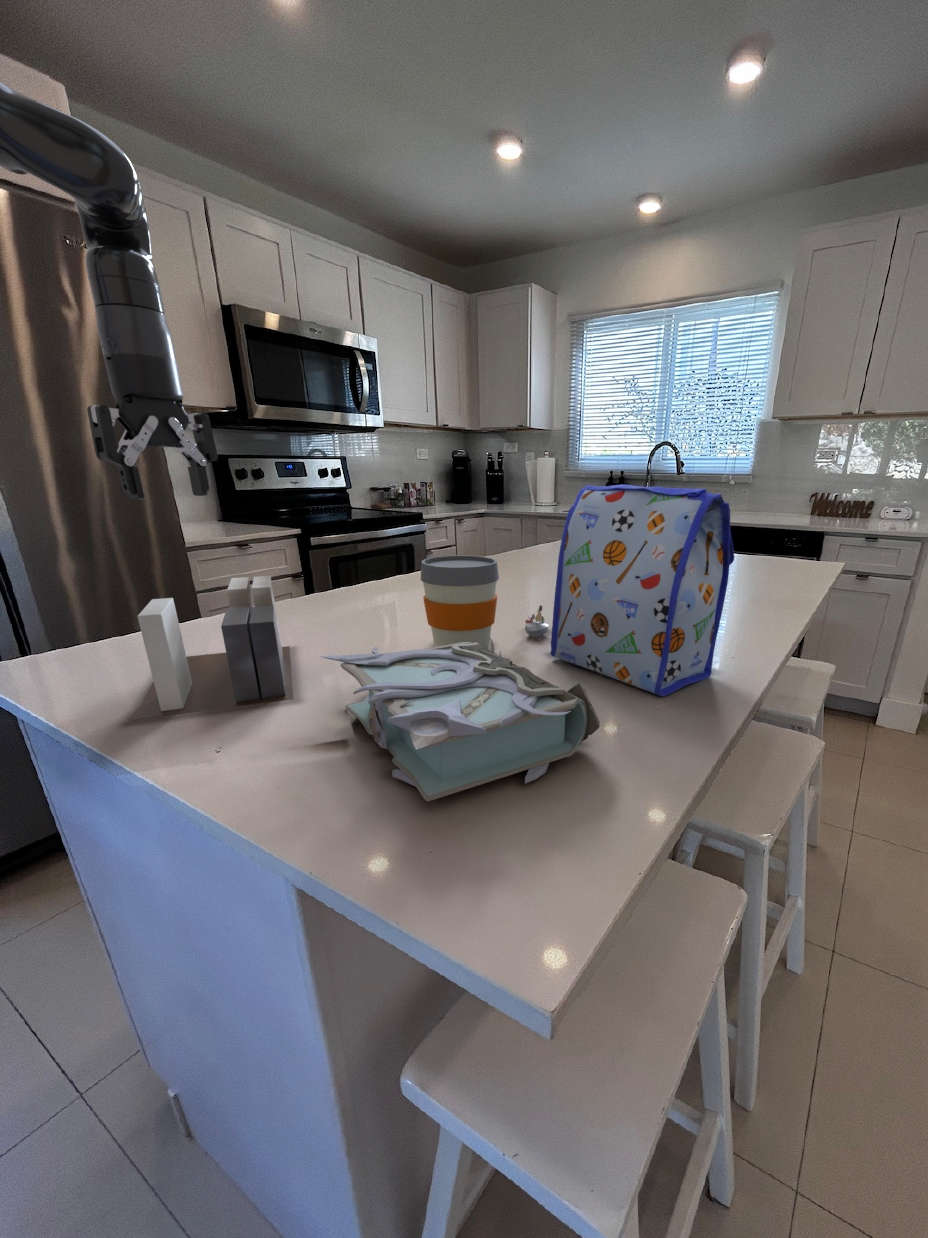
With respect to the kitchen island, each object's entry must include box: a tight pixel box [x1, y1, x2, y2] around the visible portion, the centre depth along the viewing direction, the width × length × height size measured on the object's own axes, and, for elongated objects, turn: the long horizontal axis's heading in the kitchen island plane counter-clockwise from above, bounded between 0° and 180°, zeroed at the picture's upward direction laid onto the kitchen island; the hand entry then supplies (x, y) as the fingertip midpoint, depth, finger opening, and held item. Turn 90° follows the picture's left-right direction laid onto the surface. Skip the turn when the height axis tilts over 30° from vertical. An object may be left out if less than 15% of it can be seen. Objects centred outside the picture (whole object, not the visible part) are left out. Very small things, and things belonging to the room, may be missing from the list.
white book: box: [137, 597, 192, 711], centre depth 71 cm, size 2×9×12 cm, turn 22°
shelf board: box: [132, 575, 295, 721], centre depth 78 cm, size 18×24×13 cm
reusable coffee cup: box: [420, 554, 500, 651], centre depth 93 cm, size 13×13×15 cm
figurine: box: [524, 605, 550, 641], centre depth 102 cm, size 5×4×6 cm
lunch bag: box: [550, 484, 735, 697], centre depth 83 cm, size 23×17×27 cm
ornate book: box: [319, 635, 601, 803], centre depth 65 cm, size 23×10×30 cm
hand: (170, 497), depth 74 cm, fingers open, 8 cm apart
